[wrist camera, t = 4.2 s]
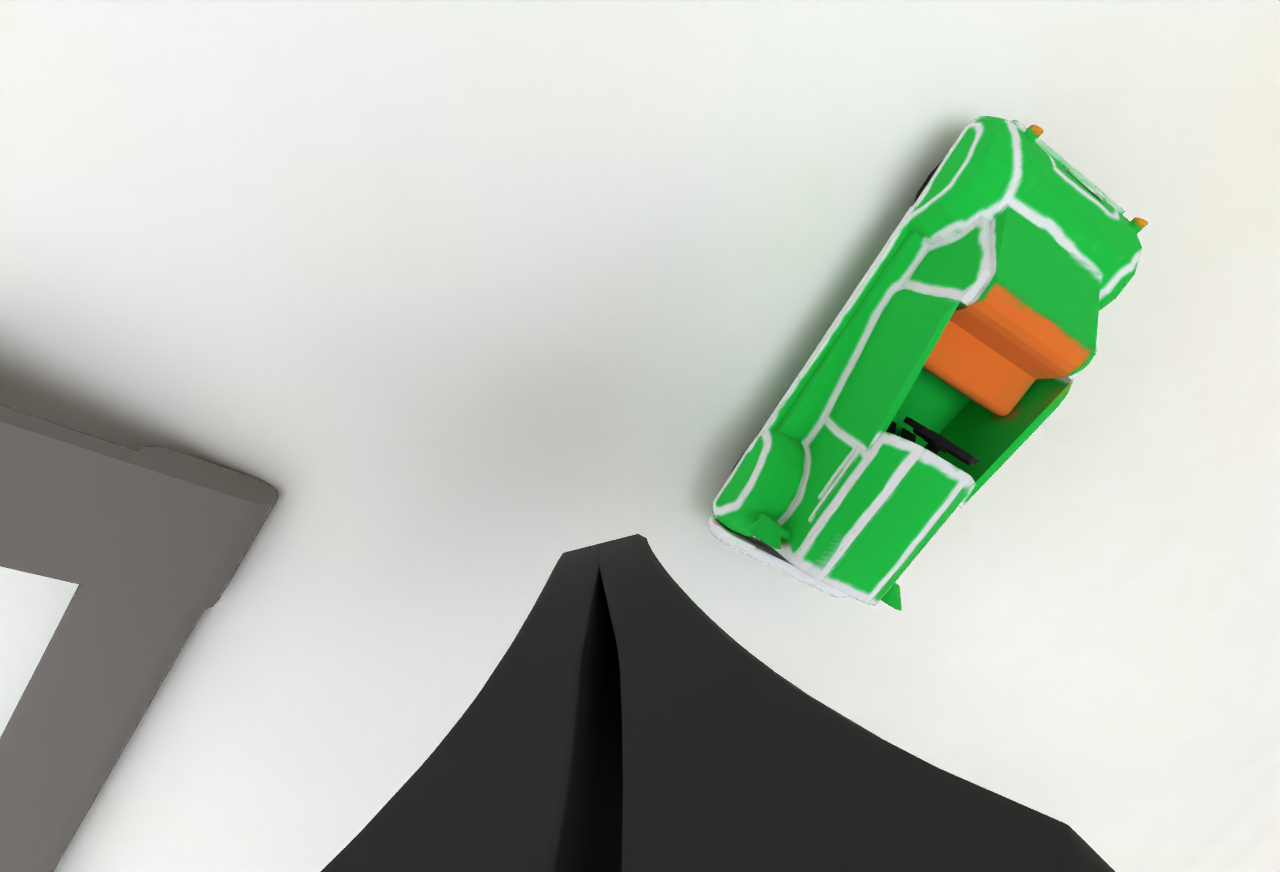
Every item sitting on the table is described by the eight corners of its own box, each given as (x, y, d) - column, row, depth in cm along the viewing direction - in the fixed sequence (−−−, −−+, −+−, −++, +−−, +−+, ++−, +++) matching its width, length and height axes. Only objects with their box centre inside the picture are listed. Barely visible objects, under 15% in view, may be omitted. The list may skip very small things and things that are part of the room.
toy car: (827, 578, 18) (899, 678, 14) (689, 509, 17) (725, 598, 13) (1096, 223, 15) (1283, 223, 11) (954, 106, 14) (1109, 60, 10)
